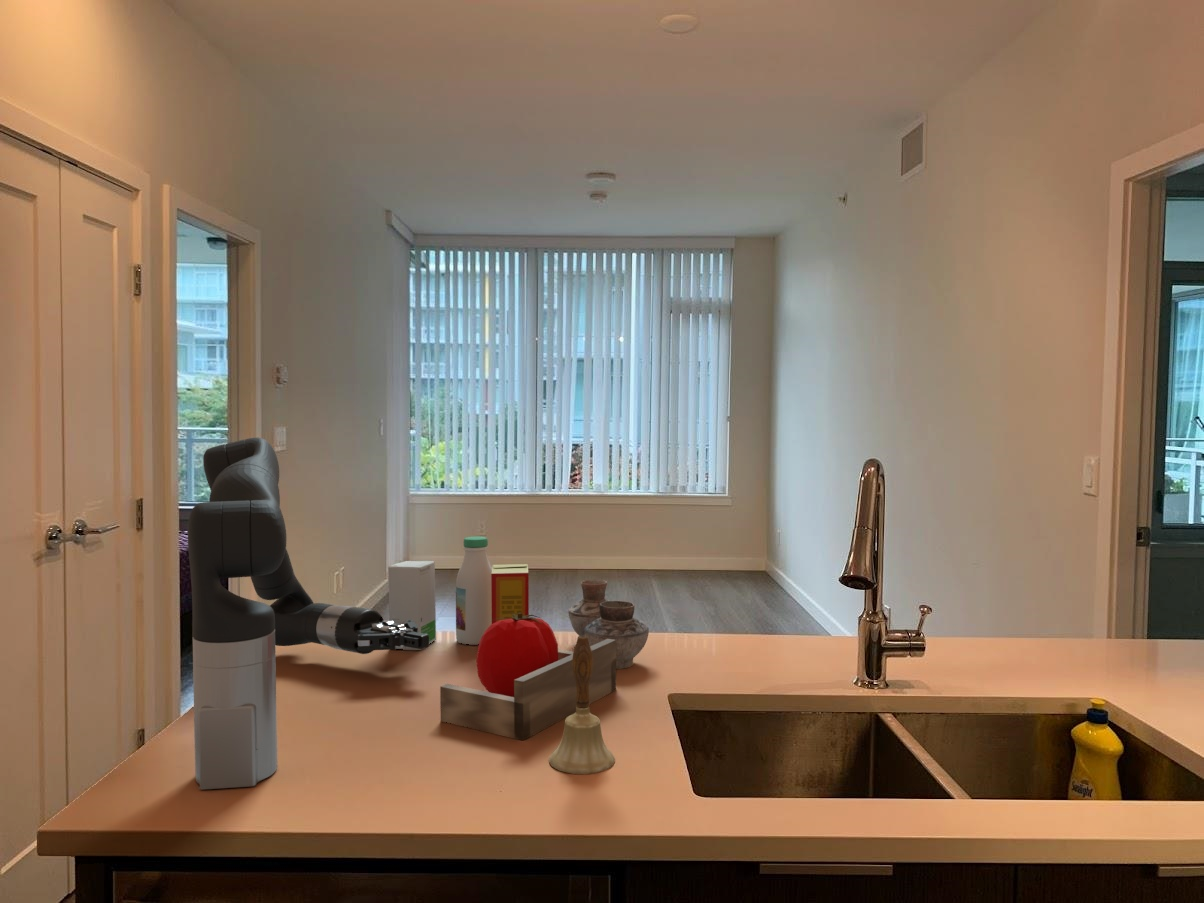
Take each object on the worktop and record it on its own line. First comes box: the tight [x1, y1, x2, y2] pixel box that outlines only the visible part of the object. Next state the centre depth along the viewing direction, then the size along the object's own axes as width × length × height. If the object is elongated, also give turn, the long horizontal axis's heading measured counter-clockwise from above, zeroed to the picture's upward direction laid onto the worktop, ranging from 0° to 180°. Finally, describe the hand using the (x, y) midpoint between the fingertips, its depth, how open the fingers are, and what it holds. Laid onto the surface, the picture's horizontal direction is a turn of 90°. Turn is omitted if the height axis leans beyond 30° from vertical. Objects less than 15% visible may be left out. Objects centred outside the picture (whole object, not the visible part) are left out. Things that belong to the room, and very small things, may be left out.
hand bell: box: [548, 635, 616, 775], centre depth 110 cm, size 8×8×16 cm
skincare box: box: [387, 560, 437, 651], centre depth 165 cm, size 8×7×16 cm
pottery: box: [567, 578, 650, 670], centre depth 159 cm, size 11×25×12 cm, turn 17°
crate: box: [439, 639, 617, 741], centre depth 131 cm, size 14×25×8 cm, turn 149°
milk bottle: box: [455, 536, 492, 646], centre depth 168 cm, size 8×8×20 cm
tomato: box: [476, 613, 559, 697], centre depth 133 cm, size 13×13×13 cm
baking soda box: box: [491, 563, 530, 624], centre depth 159 cm, size 10×6×16 cm
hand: (426, 641), depth 142 cm, fingers closed
